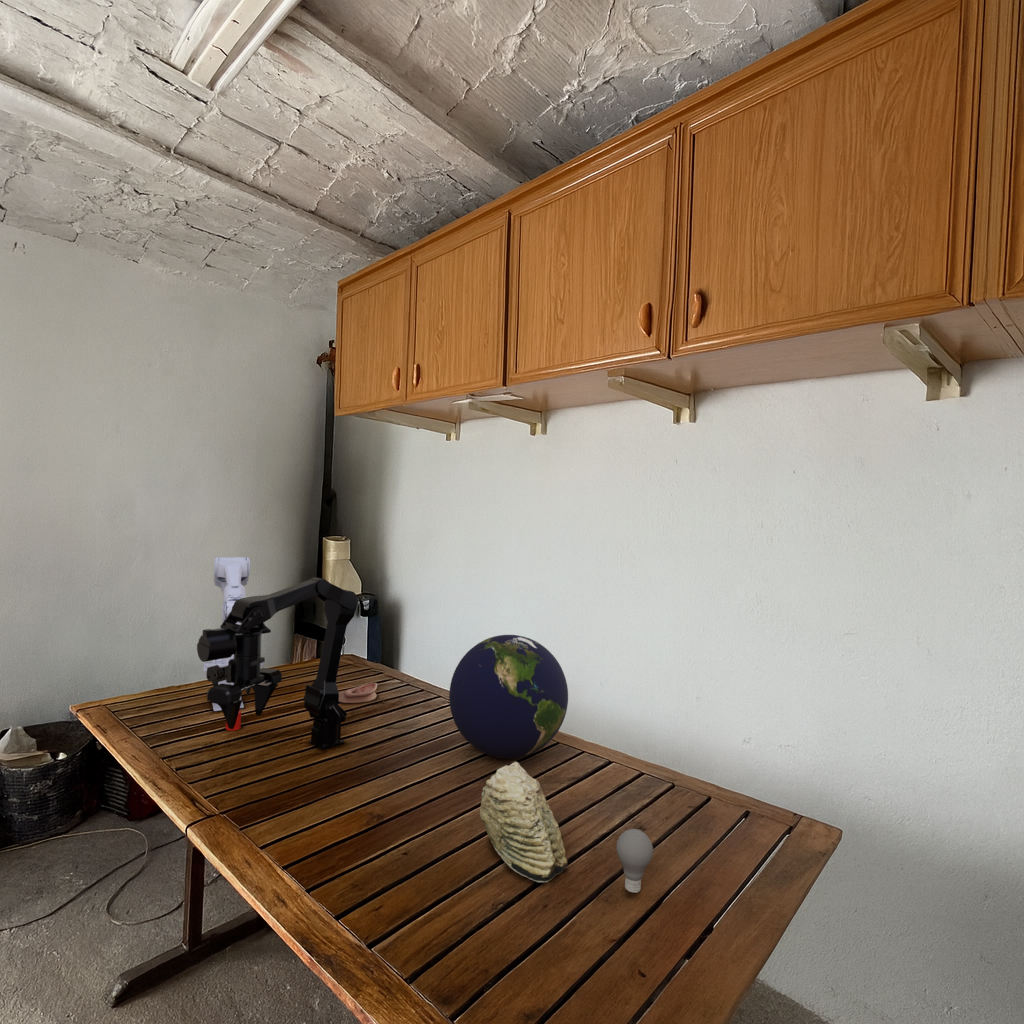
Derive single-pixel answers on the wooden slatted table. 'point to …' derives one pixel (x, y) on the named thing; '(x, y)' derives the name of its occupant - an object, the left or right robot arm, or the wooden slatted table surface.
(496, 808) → the fossil
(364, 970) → the wooden slatted table surface
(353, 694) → the anatomical model
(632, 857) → the light bulb
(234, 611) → the right robot arm
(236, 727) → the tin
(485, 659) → the globe
